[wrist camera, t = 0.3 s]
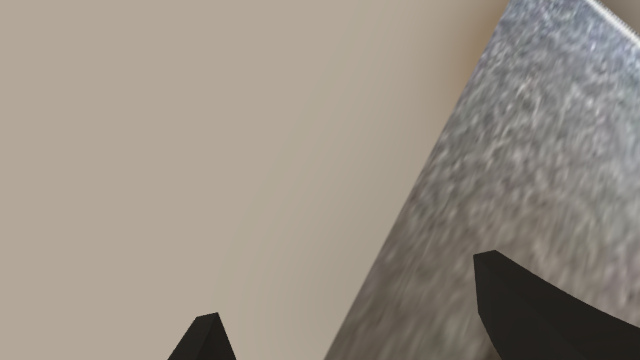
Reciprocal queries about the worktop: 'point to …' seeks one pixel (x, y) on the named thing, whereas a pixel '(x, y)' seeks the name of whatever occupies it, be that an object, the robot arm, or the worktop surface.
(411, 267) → the worktop surface
